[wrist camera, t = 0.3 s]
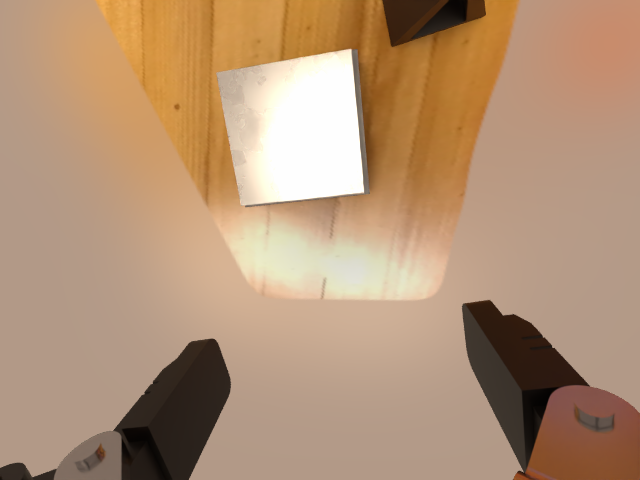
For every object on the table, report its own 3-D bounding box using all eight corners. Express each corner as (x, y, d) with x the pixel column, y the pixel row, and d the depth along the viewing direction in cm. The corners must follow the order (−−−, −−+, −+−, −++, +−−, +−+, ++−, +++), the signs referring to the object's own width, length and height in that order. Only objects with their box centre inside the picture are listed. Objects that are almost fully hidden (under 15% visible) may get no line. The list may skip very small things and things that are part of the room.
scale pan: (220, 75, 30) (216, 72, 29) (351, 52, 28) (350, 48, 27) (244, 204, 33) (241, 205, 32) (364, 191, 31) (364, 192, 30)
